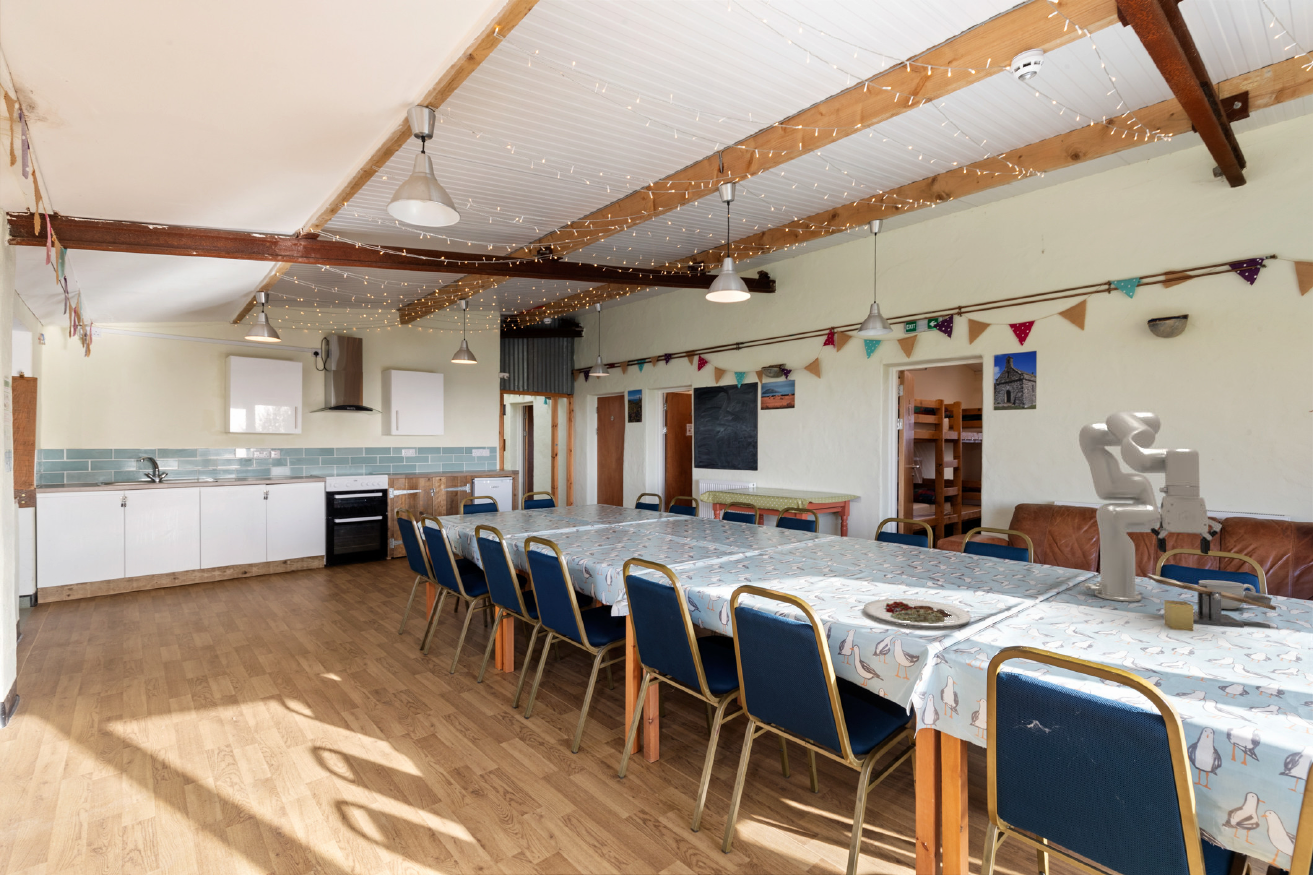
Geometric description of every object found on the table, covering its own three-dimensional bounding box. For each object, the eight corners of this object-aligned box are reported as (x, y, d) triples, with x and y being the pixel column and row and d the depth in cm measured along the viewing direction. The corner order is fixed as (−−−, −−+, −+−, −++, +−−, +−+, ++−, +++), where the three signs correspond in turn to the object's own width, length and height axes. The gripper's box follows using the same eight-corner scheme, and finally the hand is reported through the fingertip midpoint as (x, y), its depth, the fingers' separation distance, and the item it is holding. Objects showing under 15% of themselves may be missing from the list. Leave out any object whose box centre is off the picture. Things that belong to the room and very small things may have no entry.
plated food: (958, 638, 173) (957, 625, 173) (849, 620, 192) (849, 608, 192) (980, 614, 197) (980, 603, 197) (882, 599, 215) (881, 589, 215)
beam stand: (1192, 623, 185) (1191, 590, 185) (1176, 614, 195) (1176, 582, 195) (1244, 627, 181) (1244, 594, 181) (1225, 617, 191) (1225, 585, 191)
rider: (1171, 629, 180) (1171, 604, 180) (1164, 624, 185) (1164, 600, 185) (1193, 631, 178) (1193, 605, 178) (1185, 626, 183) (1185, 601, 183)
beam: (1154, 581, 190) (1157, 572, 189) (1146, 577, 196) (1148, 567, 196) (1275, 610, 180) (1278, 600, 180) (1262, 604, 186) (1264, 594, 186)
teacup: (1204, 609, 201) (1204, 583, 201) (1194, 601, 210) (1194, 577, 210) (1263, 614, 194) (1263, 588, 194) (1250, 606, 204) (1250, 581, 204)
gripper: (1150, 492, 182) (1151, 553, 181) (1226, 493, 176) (1227, 556, 175) (1141, 490, 189) (1141, 549, 189) (1214, 491, 183) (1215, 552, 182)
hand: (1183, 552), depth 182 cm, fingers open, 9 cm apart
